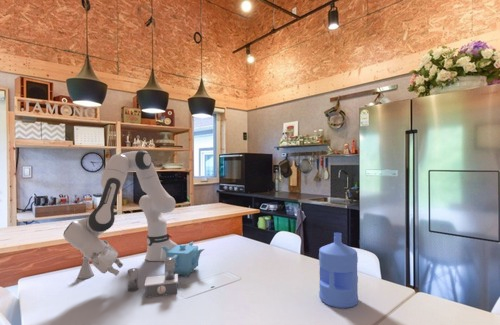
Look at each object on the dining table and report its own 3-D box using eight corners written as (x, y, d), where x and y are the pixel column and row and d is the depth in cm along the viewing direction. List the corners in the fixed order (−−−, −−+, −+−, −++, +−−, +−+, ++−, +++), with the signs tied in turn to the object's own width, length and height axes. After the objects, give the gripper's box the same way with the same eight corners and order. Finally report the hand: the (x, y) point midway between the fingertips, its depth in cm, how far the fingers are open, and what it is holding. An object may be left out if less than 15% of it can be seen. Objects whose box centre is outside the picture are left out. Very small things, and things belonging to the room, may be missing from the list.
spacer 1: (135, 286, 134) (135, 267, 134) (139, 289, 131) (139, 269, 131) (126, 289, 131) (126, 270, 131) (130, 292, 128) (130, 272, 128)
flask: (74, 277, 145) (74, 258, 145) (88, 273, 151) (88, 254, 151) (83, 280, 141) (83, 260, 141) (96, 275, 148) (96, 256, 148)
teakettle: (171, 282, 138) (171, 252, 138) (160, 270, 154) (160, 243, 154) (207, 274, 149) (206, 246, 149) (193, 263, 164) (192, 238, 164)
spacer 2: (171, 275, 132) (171, 256, 132) (176, 278, 129) (176, 258, 129) (163, 278, 129) (162, 258, 129) (168, 281, 126) (167, 260, 126)
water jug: (328, 288, 130) (327, 227, 131) (363, 298, 120) (362, 232, 121) (312, 301, 118) (312, 234, 119) (350, 313, 108) (349, 240, 109)
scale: (177, 285, 134) (177, 273, 134) (178, 294, 126) (177, 281, 126) (146, 289, 131) (146, 277, 131) (144, 298, 122) (144, 285, 122)
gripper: (95, 251, 117) (121, 273, 120) (106, 239, 137) (128, 257, 140) (83, 263, 116) (109, 284, 119) (96, 249, 136) (118, 267, 138)
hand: (120, 270), depth 129 cm, fingers open, 8 cm apart
